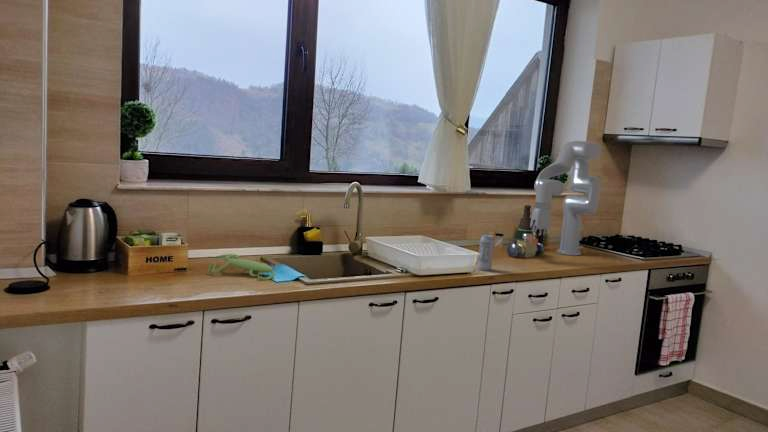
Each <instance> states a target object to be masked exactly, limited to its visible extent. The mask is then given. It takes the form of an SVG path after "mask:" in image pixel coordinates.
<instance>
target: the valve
mask: <svg viewBox="0 0 768 432" xmlns="http://www.w3.org/2000/svg"><path fill="white" fill-rule="evenodd" d="M516 243H517V244H516ZM516 243H515V242H513V243H509V244H508V245H507V247H506V253H507V255H508V256H509V257H510V258H517V257H519V258H520V257H521V258H524V259H526V258H527V259H528V258H535V256H542V255H543V254H544V253H545V246H544V243H542V244H539V243H538V244H531V243H530V242H528V240H527V239H524V240H517V239H516Z"/></svg>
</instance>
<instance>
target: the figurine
mask: <svg viewBox="0 0 768 432" xmlns="http://www.w3.org/2000/svg"><path fill="white" fill-rule="evenodd" d="M222 258H223V259H224V260H225V261H226V262H225V263H224V264H223V265H221V266H220V267H218V268H217V269H216V266H217V265H216V262H215V261H212V262H211V263H210V264H209V266H208V270H207V275H209V276H210V275H211V272H212V274H218V273H220V272H221V271H222V270H224V269H226V268H227V267H228V266H230V265H231V266H233V267H236V268H240V269H243V270H242V273H245V272H248V271H249V272H248V274H249V275H250V277H257V278H258V279H259V280H261V281H270V280H269V279H270V278H272V277H273V278H274V277H275V276H276V275H275V274H276V273H275V271H274V268H275V264H273V263H270V262H267V263H264V262H261V261H259V262H258V261H255V260H250V259H244V258H243V259H242V258H240V256H239V255H238V254H234V253H227V254H221V255H215V260H217V259H222ZM253 272H254V273H255V274H254V273H253ZM265 273H271V274H270V276H268V277H262V276H263V275H264V274H265ZM262 274H263V275H262ZM273 278H272V279H273Z"/></svg>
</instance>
